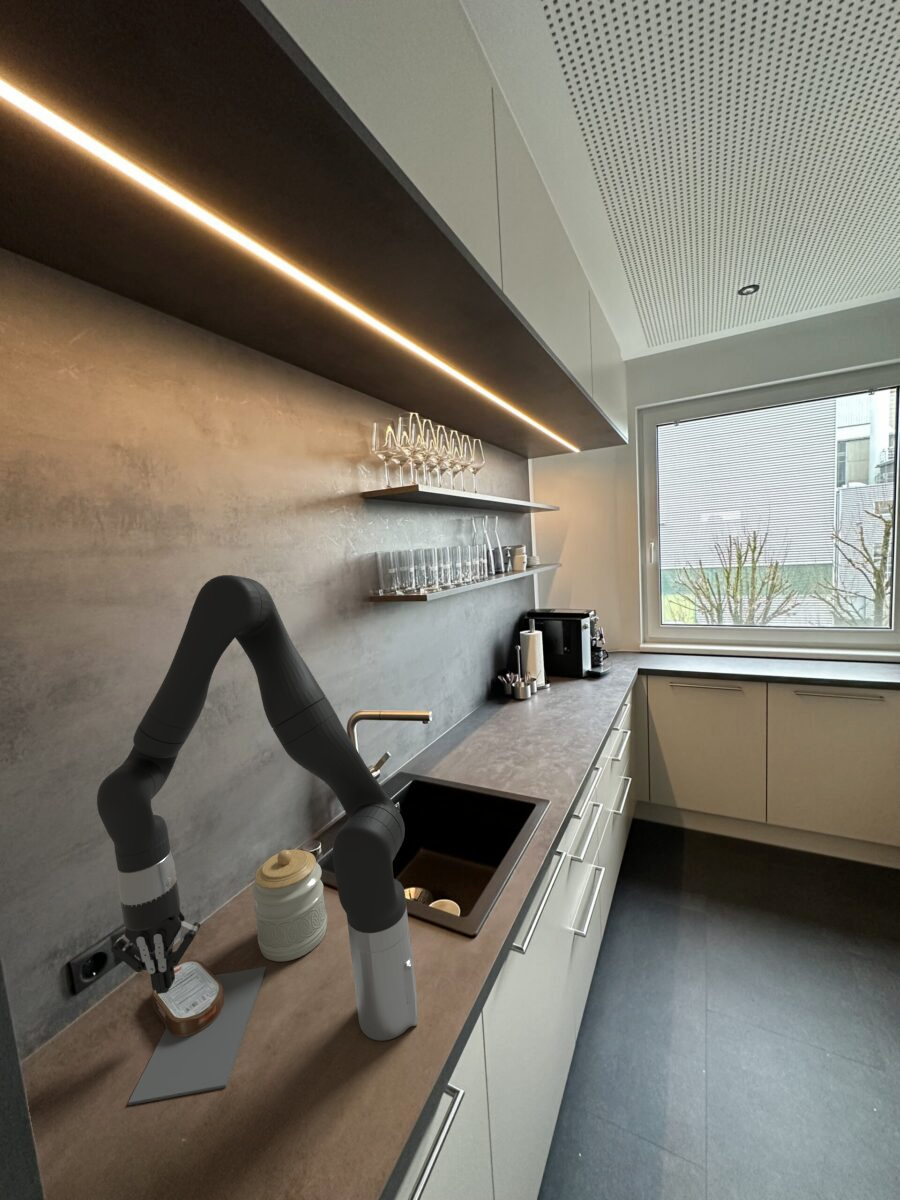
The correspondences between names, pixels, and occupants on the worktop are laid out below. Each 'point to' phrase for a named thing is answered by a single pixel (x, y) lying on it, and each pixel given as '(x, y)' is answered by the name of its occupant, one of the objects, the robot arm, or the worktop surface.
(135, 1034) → the worktop surface
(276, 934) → the jar
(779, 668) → the worktop surface
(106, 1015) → the worktop surface
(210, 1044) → the mat
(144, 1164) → the worktop surface
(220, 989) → the tin
